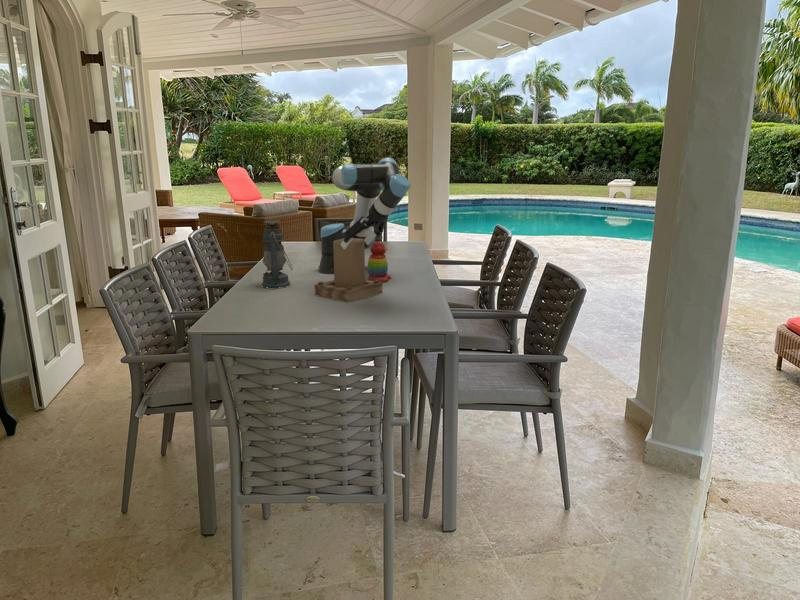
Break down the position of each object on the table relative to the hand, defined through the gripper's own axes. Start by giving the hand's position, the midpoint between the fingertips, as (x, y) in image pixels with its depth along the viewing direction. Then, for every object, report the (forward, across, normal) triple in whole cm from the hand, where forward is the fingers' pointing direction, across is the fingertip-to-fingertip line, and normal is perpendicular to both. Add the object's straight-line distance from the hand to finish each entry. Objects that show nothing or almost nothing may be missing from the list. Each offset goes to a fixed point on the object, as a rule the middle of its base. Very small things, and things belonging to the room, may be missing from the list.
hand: (354, 244), depth 243 cm
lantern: (+46, -5, +16) cm, 49 cm away
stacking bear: (+26, +31, -5) cm, 41 cm away
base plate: (+20, +2, -11) cm, 23 cm away
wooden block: (+17, +2, -9) cm, 20 cm away
